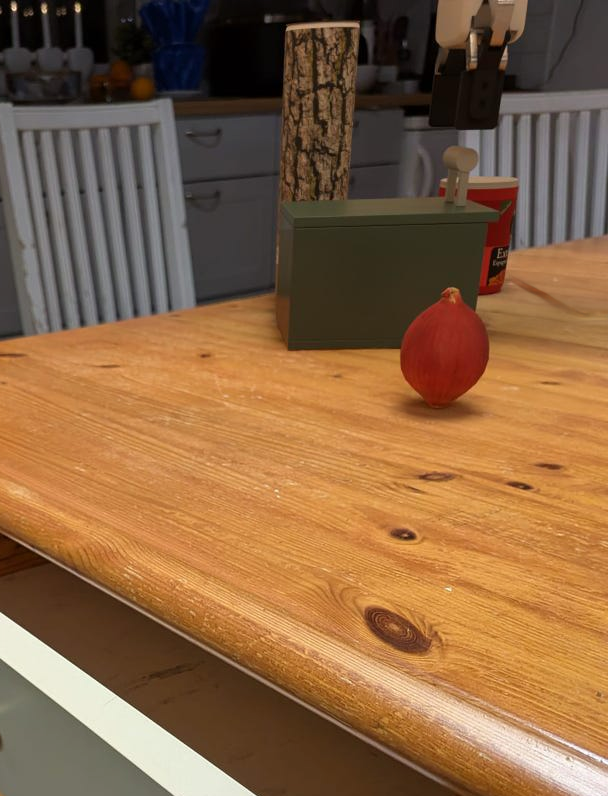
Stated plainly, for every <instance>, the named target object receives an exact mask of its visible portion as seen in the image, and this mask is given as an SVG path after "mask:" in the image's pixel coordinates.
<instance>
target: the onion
mask: <svg viewBox="0 0 608 796" xmlns="http://www.w3.org/2000/svg"><path fill="white" fill-rule="evenodd" d="M441 296H442V298H441V299H440V301H439V302H437V303H436V304H434V305H432V306H431V307H429V308H427V309H426V310H425V311H423V312H422V313H421V314H420V315H419V316H418V317H417V318H416V319H415V320H414V321H413V322H412V323H411V325H410V326H409V328H408V330H407V331H406V333H405V335H404V338H403V341H402V345H401V348H400V354H399V362H400V363H399V365H400V371H401V373H402V375H403V378H404V380H405V381H406V382H407V384H408V385H409V386H410V387H411V388H412V390H414V391H415V392H416V393H417V394H418V395H420V397H421V398H423V399H424V401H425V402H426V403H427V405H429V406H430V407H431V408H433V409H441V408H442V409H443V408H445V407H446V406H448V405H449V404H451V403H453V402H454V401H456V400H457V399H459V398H460V397H461V396H463V395H464V394H467V392H469V391H470V390H471V389H472V388H473V387H474V386H476V385H477V383H478V382H479V380H480V379H481V378H482V377H483V375H484V374H485V372H486V370H487V366H488V363H489V360H490V339H489V333H488V330H487V327H486V325H485V323H484V321H483V320H482V319H481V317H480V315H479V314H478V313H477V311H476V312H475V311H474V310H473V309H471V308H470V307H469V306H468V305H466V304H465V303H464V302H463V300H462V298H461V295H460V293H459V290H458V289H456V288H448V289H446V290H445V291H444V292H443V293H441Z"/></svg>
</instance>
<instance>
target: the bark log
mask: <svg viewBox="0 0 608 796" xmlns="http://www.w3.org/2000/svg"><path fill="white" fill-rule="evenodd" d="M360 22H361V21H360V20H351V19H350V20H349V19H348V20H347V19H345V20H343V19H342V20H341V19H340V20H317V21H316V20H315V21H305V22H304V21H303V22H295V23H288V24H286V25H285V26H286V29H285V35H284V59H283V60H284V61H283V82H282V83H283V85H282V87H283V88H282V106H281V107H282V109H281V110H282V111H281V131H280V155H279V157H280V158H279V159H280V160H279V180H278V181H279V182H278V183H279V184H278V203H277V204H278V205H277V206H278V207H277V208H278V209H277V232H276V245H277V246H276V253H275V254H276V255H275V257H276V258H275V283H274V285H275V287H274V300H275V302H276V303H277V280H278V256H279V232H280V212H281V211H280V208H281V202H289V201H323V200H349V198H348V196H349V184H350V171H351V169H350V168H351V157H352V156H351V155H352V145H353V144H352V141H353V128H354V116H355V115H354V114H355V102H356V101H355V100H356V88H357V73H358V60H359V59H358V58H359V48H360V47H359V46H360V45H359V44H360V34H361V32H360V31H361V27H360Z"/></svg>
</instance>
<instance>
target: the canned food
mask: <svg viewBox="0 0 608 796" xmlns="http://www.w3.org/2000/svg"><path fill="white" fill-rule="evenodd" d="M458 179H459V176H457V181H456V190H455V197H456V195H457V187H458ZM446 185H447V177H446V178H445V177H444V178H442V179H440V183H439V186H438V195H437V197H445V193H446ZM519 187H520V179H518V178H517V177H513V176H512V177H511V176H486V175H485V176H481V175H480V176H469V181H468V189H467V197H466V199H467V200H470V201H473V202H475V203H478V204H481V205H484V206H486V207H489V208H492V209H495V210H497V211H500V214H499V221H498V222H486V223H488V228H487V235H486V242H485V249H484V256H483V263H482V270H481V277H480V285H479V292H478V296H479V295H489V294H490V295H491V294H495V293H497V292H499V291H501V289H502V287H503V285H504V283H505V278H506V272H507V266H508V259H509V253H510V246H511V239H512V235H513V234H512V233H513V229H514V228H513V227H514V222H515V214H516V208H517V202H518V195H519Z"/></svg>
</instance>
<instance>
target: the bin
mask: <svg viewBox="0 0 608 796" xmlns="http://www.w3.org/2000/svg"><path fill="white" fill-rule="evenodd" d="M487 228H488V223H486V222H479V223H443V224H408V225H372V226H337V227H301V228H294V227H293V226H292V225H291V223H290V222H289V221H288V220H287V218H286V217H285V216H284V215H283V213H282V212H280V232H279V256H278V280H277V302H276V304H275V305H276V306H275V308H276V309H275V320H276V323H277V325H278V328H279V331H280V334H281V336H282V339H283V341H284V344H285V346H286V349H287V351H317V350H318V351H319V350H320V351H321V350H323V351H324V350H367V349H368V350H369V349H370V350H371V349H372V350H373V349H401V345H402V341H403V338H404V335H405V333H406V331H407V330H408V328H409V326H410V325H411V323H412V322H413V321H414V320H415V319H416V318H417V317H418V316H419V315H420V314H421V313H422V312H423V311H425V310H426V309H427V308H429V307H431V306H432V305H434V304H436V303H437V302H439V301H440V299H441V298H442V296H441V293H443V292H444V291H445V290H446V289H448V288H456V289H458V290H459V293H460V295H461V298H462V300H463V302H464V303H465V304H466V305H468V306H469V307H470V308H471V309H473V310H474V311H475V312H476V313H477V306H478V297H479V295H478V292H479V285H480V277H481V270H482V263H483V256H484V249H485V242H486V235H487Z"/></svg>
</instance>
